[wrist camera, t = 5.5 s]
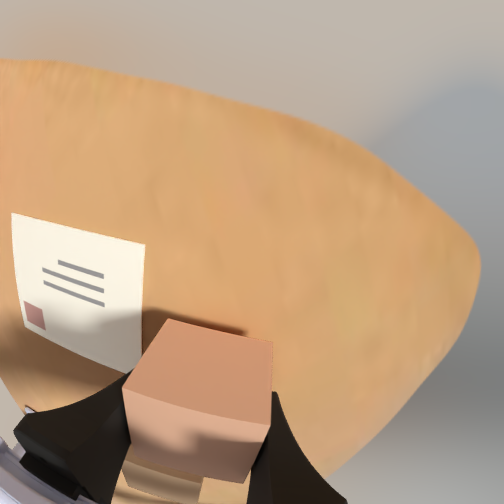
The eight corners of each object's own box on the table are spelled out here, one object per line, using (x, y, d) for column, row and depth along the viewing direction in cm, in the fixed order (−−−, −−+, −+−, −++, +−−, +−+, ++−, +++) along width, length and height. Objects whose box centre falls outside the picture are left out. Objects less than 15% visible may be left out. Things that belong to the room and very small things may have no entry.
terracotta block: (251, 410, 14) (243, 483, 9) (165, 389, 14) (134, 456, 9) (272, 342, 12) (270, 425, 8) (168, 318, 13) (121, 387, 8)
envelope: (143, 378, 16) (142, 379, 16) (26, 325, 16) (24, 326, 16) (145, 244, 13) (143, 245, 13) (13, 212, 13) (11, 212, 13)
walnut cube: (208, 456, 18) (196, 507, 13) (148, 440, 18) (128, 486, 13) (215, 423, 17) (200, 483, 12) (144, 403, 17) (117, 456, 12)
